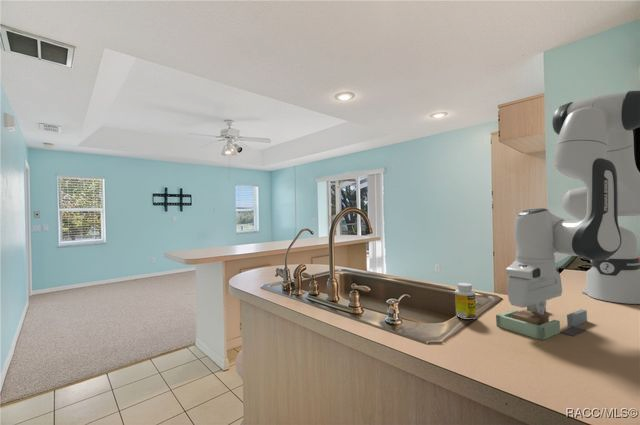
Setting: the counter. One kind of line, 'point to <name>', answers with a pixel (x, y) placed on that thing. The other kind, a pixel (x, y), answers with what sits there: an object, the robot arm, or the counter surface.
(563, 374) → the counter surface
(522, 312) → the walnut block
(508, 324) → the trap channel
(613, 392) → the counter surface
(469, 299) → the supplement bottle
